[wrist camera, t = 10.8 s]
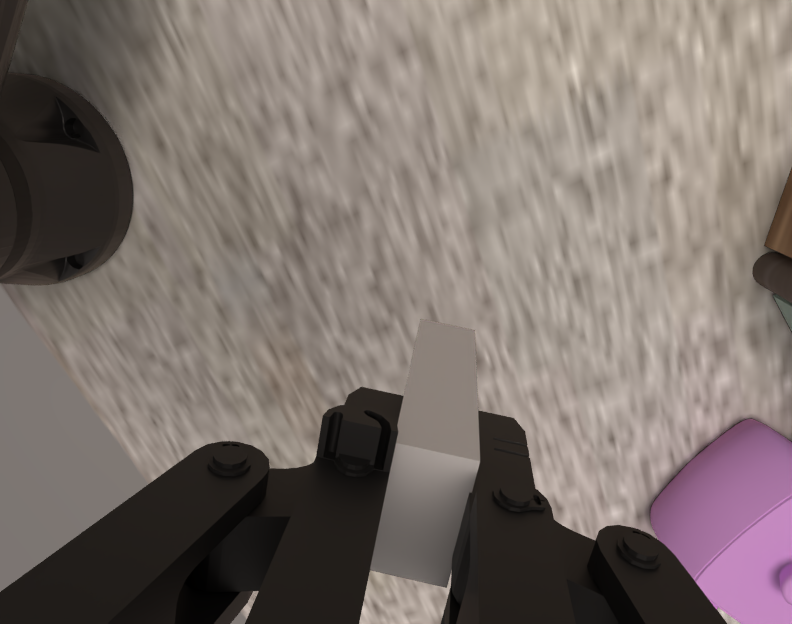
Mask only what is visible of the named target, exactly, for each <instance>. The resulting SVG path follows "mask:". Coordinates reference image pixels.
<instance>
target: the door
mask: <svg viewBox="0 0 792 624" xmlns="http://www.w3.org/2000/svg"><path fill="white" fill-rule="evenodd" d="M773 297H774V299H775V300H776V302H777V304H778V306H779V308H780V310H781V312H782V314H783V316H784V318H785V320H786V321H787V323H788V325H789V327H790V329H791V331H792V303H791V302H789V301H787V300H786V299H784V298H782V297H781V296H779V295H777V294H775V295H773Z"/></svg>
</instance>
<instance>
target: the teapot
mask: <svg viewBox="0 0 792 624" xmlns="http://www.w3.org/2000/svg"><path fill="white" fill-rule="evenodd" d="M650 513H651V524H652V527H653V529H654V532H655V534H656V536H657V538H658V539H659V541H660V542H662V543H663V544H664V545H665V546H666V547H667V548H668V549H669V550H670V551H671V552H672V553H673V554H674V555H675V556H676V557H677V558H678V560H679V561H680V562H681V564H682V565H683V566H684V568H685V569H686V570H687V572H688V573H689V574H690V575H691V577H692V578H693V579H694V581H695V582H696V583H697V585H698V586H699V587H700V589H701V590H702V591H703V593H704V594H705V595H706V596H707V598H708V599H709V600H710V602H711V603H712V604H713V606H714V607H715V608H716V610H717V608H718V607H719V608H720V609H722V610H723V611H724V612H726V613H727V614H729V615H730V616H731V617H733V618H734V619H736V620H737V621H738V622H740V623H741V624H792V442H791V441H789V440H788V439H786V438H785V437H783V436H782V435H780V434H779V433H777V432H776V431H774V430H773V429H771V428H770V427H768V426H766V425H764V424H762V423H760V422H758V421H756V420H753V419H746V420H743V421H742V422H740V423H738V424H736V425H735V426H734V427H732V428H731V429H729V430H728V431H727V432H725V433H724V434H723V435H721V436H720V437H719V438H718V439H716V440H715V441H714V442H712V443H711V444H710V445H709V446H707V447H706V448H705V449H704V450H703V451H701V452H700V453H699V454H698V455H697V456H696V457H694V458H693V459H692V460H691V461H690V462H689V463H688V464H687V465H686V466H685V467H684V468H683V469H682V470H681V471H680V472H679V473H678V474H677V475H676V476H675V478H674V479H673V480H672V481H671V482H670V483H669V484H668V485H667V486H666V487H665V489H664V490H663V491H662V492H661V493H660V494H659V496H658V497H657V498H656V499H655V501H654V503H653V504H652V507H651V512H650Z"/></svg>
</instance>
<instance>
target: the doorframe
mask: <svg viewBox="0 0 792 624" xmlns="http://www.w3.org/2000/svg"><path fill="white" fill-rule="evenodd" d="M764 246H766V247H769V248H771V249H773V250H775V251H778V252H780V253H778V252H771V253H767V254H765V255H763V256H761V257H760V258H759V259H758V260H757V261H756V263H755V265H754V267H753V276H754V279H755V280H756V281H757V282H758V283H759V284H760V285H762V286H764V287H765V288H767V289H769V290H770V291H772V292H774V293H775V294H777V295H779V296H781V297H782V298H784V299H786V300H787V301H789V302H791V303H792V169H791V172H790V174H789V177H788V180H787V183H786V186H785V189H784V191H783V194H782V197H781V200H780V203H779V205H778V208H777V211H776V214H775V217H774V220H773V222H772V225H771V228H770V231H769V234H768V237H767V239H766V242H765V245H764ZM781 253H782V254H781ZM788 256H789V257H788ZM790 257H791V258H790Z"/></svg>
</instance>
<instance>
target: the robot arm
mask: <svg viewBox="0 0 792 624" xmlns="http://www.w3.org/2000/svg"><path fill="white" fill-rule="evenodd" d="M27 3H28V0H0V283H5V284H21V285H50V284H56V283H61V282H65V281H68V280H71V279H73V278H76V277H78V276H81V275H83V274H86V273H88V272H90V271H92V270H94V269H96V268H97V267H99V266H100V265H102V264H103V263H104V262H105V261H106V260H107V259H108V258H109V257H110V256H111V255H112V254H113V253H114V252H115V251H116V249H117V248H118V246H119V245H120V243H121V241H122V240H123V238H124V236H125V233H126V231H127V228H128V225H129V221H130V217H131V211H132V200H133V195H132V182H131V175H130V171H129V167H128V163H127V160H126V157H125V155H124V152H123V150H122V147H121V145H120V143H119V141H118V139H117V137H116V136H115V134H114V132H113V131H112V129H111V128H110V126H109V125H108V123H107V122H106V121H105V119H104V118H103V117H102V116H101V115H100V113H99V112H98V111H97V110H96V109H95V108H94V107H93V106H92V105H91V104H90V103H89V102H87V101H86V100H85V99H84V98H83V97H81V96H80V95H79V94H77V93H76V92H74V91H73V90H71V89H70V88H68V87H66V86H64V85H62V84H60V83H58V82H56V81H53V80H51V79H48V78H44V77H41V76H36V75H30V74H20V73H9V72H8V69H9V66H10V62H11V59H12V55H13V52H14V48H15V45H16V41H17V38H18V35H19V31H20V28H21V24H22V21H23V17H24V14H25V10H26V7H27ZM451 569H452V576H451V588H450V592H449V595H448V599H447V603H446V607H445V610H444V614H443V618H442V621H441V624H727V623H726V621H725V620H724V619H723V617H722V616H721V615H720V614H719V612H718V611H717V610H716V608H715V607H714V606H713V604H712V603H711V602H710V600H709V599H708V598H707V596H706V595H705V594H704V593H703V591H702V590H701V589H700V587H699V586H698V585H697V583H696V582H695V581H694V579H693V578H692V577H691V575H690V574H689V573H688V572H687V570H686V569H685V568H684V566H683V565H682V564H681V562H680V561H679V560H678V558H677V557H676V556H675V555H674V554H673V553H672V552H671V551H670V550H669V549H668V548H667V547H666V546H665V545H664V544H663V543H662V542H660V541H659V540H657V539H656V538H654V537H653V536H651V535H650V534H648V533H646V532H644V531H641V530H639V529H636V528H631V527H626V526H621V525H614V526H606V527H605V528H603V529H601V530H600V531H599V532H598V535H597V538H596V541H595V540H592V539H590V538H588V537H585V536H583V535H581V534H578V533H576V532H574V531H572V530H570V529H568V528H566V527H564V526H562V525H561V524H559V523H558V522H556V521H555V520H554V518H553V513H552V508H551V506H550V504H549V502H548V500H547V499H546V498H545V497H544V496H543V495H542V494H541V493H540V492H539V491H538V490H536V489H535V484H534V479H533V473H532V468H531V462H530V458H529V451H528V447H527V440H526V435H525V431H524V430H523V429H522V427H521V426H520V425H519V424H518V423H517V421H516V420H515V419H514V418H510V417H506V416H501V415H497V414H492V413H487V412H483V411H478V394H477V369H476V343H475V330H471V329H467V328H462V327H457V326H452V325H448V324H443V323H438V322H434V321H429V320H424V319H420V324H419V328H418V333H417V337H416V342H415V347H414V351H413V356H412V360H411V365H410V369H409V374H408V379H407V383H406V388H405V392H404V396H401V395H397V394H392V393H387V392H383V391H378V390H374V389H369V388H364V387H360V388H359V389H357V390H356V391H354V392H352V393H351V394H349V395H348V397H347V400H346V402H345V405H340V406H337V407H334V408H331V409H329V410H328V411H327V412H326V413H325V414H324V415H323V419H322V425H321V431H320V437H319V443H318V449H317V455H316V458H315V461H314V463H312V464H310V465H307V466H303V467H299V468H289V469H269V459H268V458H267V457H266V456H265V454H264V453H263V452H262V451H261V450H259V449H257V448H255V447H253V446H252V445H248V444H244V443H240V442H233V441H232V442H230V441H224V442H217V443H212V444H207V445H205V446H203V447H201V448H199V449H197V450H195V451H194V452H193V453H191V454H190V455H188V456H187V457H186V458H184V459H183V460H182V461H180V462H179V463H177V464H176V465H175V466H173V467H172V468H171V469H169V470H168V471H166V472H165V473H164V474H162V475H161V476H160V477H158V478H157V479H155V480H154V481H153V482H151V483H150V484H148V485H147V486H146V487H144V488H143V489H142V490H140V491H139V492H138V493H136V494H135V495H133V496H132V497H131V498H129V499H128V500H127V501H125V502H124V503H122V504H121V505H120V506H118V507H117V508H115V509H114V510H113V511H111V512H110V513H109V514H107V515H106V516H104V517H103V518H102V519H100V520H99V521H98V522H96V523H95V524H93V525H92V526H91V527H89V528H88V529H86V530H85V531H84V532H82V533H81V534H80V535H78V536H77V537H76V538H74V539H73V540H71V541H70V542H68V543H67V544H66V545H64V546H63V547H62V548H60V549H59V550H58V551H56V552H55V553H53V554H52V555H51V556H49V557H48V558H46V559H45V560H44V561H43V562H41V563H40V564H38V565H37V566H35V567H34V568H33V569H32V570H30V571H29V572H27V573H26V574H24V575H23V576H22V577H20V578H19V579H18V580H16V581H15V582H13V583H12V584H11V585H9V586H8V587H6V588H5V589H4V590H2V591H1V592H0V624H230V623H231V622H232V621H233V620H234V618H235V617H236V616H237V615H238V613H239V612H240V611H241V610H242V609H243V607H244V606H245V605H246V604H247V602H248V600H249V598H250V596H251V594H252V592H253V591H259V592H258V594H257V597H256V599H255V601H254V604H253V606H252V609H251V611H250V613H249V616H248V618H247V620H246V623H245V624H359V620H360V615H361V610H362V606H363V601H364V596H365V591H366V586H367V581H368V576H369V572H370V570H372V571H376V572H380V573H385V574H389V575H393V576H398V577H402V578H406V579H411V580H415V581H419V582H424V583H428V584H433V585H437V586H441V587H446V588H447V584H448V581H449V577H450V573H451Z"/></svg>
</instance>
